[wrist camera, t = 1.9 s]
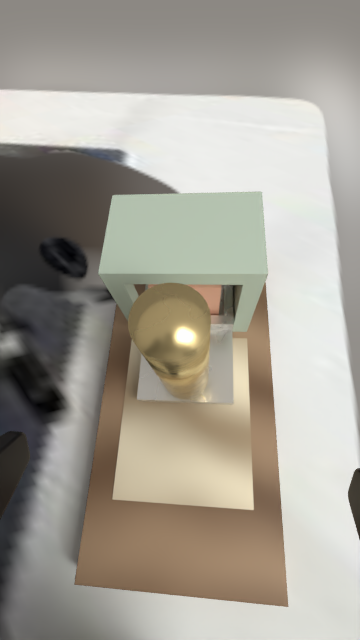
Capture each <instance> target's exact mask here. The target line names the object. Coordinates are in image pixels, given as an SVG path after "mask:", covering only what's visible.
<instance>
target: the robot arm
mask: <svg viewBox="0 0 360 640" xmlns="http://www.w3.org/2000/svg"><path fill="white" fill-rule="evenodd" d="M29 459H30V451H29V447H28V442H27V438H26V435H25V434H24V433H23V432H16V431H9V432H7V433H5V434H3V435H1V436H0V519H1V517H2V515H3V513H4V511H5V509H6V507H7V505H8V503H9V501H10V499H11V497H12V495H13V493H14V491H15V489H16V487H17V485H18V483H19V481H20V479H21V477H22V475H23V473H24V470H25V468H26V466H27V464H28V462H29ZM348 498H349V503H350V506H351V510H352V514H353V517H354V521H355V524H356V528H357V532H358V535H359V539H360V468H357V469H356V470H355V472H354V474H353V478H352V481H351V484H350V487H349V491H348Z"/></svg>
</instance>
